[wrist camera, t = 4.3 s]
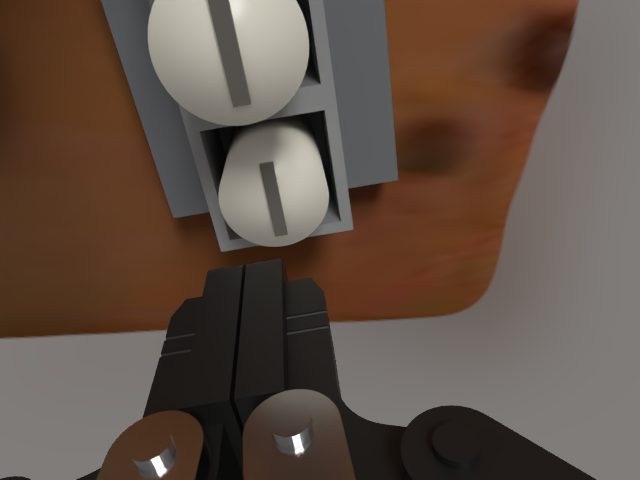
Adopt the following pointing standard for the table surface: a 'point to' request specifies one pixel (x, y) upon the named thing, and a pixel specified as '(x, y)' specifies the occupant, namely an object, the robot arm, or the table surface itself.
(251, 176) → the knob
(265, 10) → the knob mid
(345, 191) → the grey compartment box
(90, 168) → the table surface
